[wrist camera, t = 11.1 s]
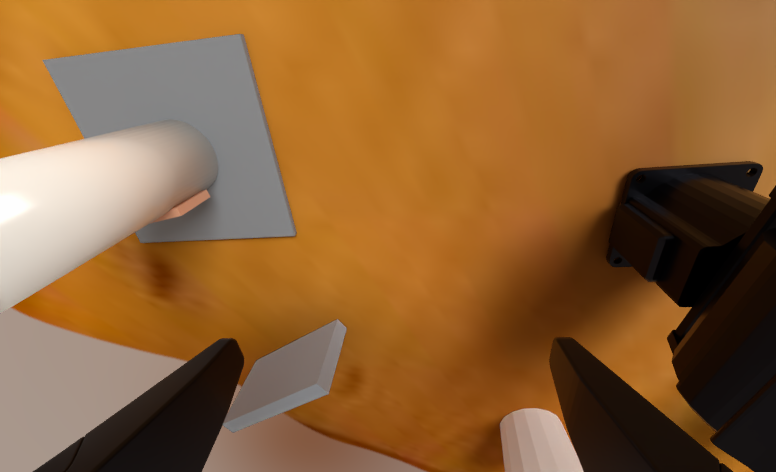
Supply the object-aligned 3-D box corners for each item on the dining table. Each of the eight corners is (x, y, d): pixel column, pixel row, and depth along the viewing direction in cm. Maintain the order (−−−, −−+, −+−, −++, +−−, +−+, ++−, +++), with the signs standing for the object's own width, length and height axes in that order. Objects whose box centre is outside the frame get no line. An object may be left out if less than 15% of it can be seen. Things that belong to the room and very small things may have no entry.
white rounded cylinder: (193, 110, 19) (-87, 173, 9) (232, 186, 21) (47, 312, 11) (130, 130, 20) (-192, 209, 9) (174, 201, 22) (-50, 331, 12)
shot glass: (502, 450, 34) (520, 538, 27) (484, 410, 31) (499, 498, 25) (573, 441, 32) (609, 533, 26) (561, 398, 29) (598, 490, 23)
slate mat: (243, 34, 17) (239, 34, 17) (296, 233, 23) (294, 236, 23) (49, 59, 19) (42, 60, 18) (144, 240, 25) (140, 242, 24)
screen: (337, 319, 27) (316, 383, 21) (346, 328, 27) (328, 393, 22) (256, 360, 30) (221, 424, 25) (265, 368, 31) (233, 432, 25)
